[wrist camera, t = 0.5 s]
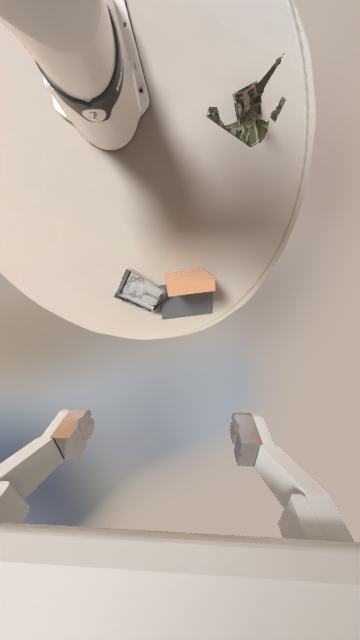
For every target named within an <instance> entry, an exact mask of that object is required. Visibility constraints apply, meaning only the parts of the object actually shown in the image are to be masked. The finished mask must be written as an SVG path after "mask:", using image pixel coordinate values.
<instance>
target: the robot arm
mask: <svg viewBox="0 0 360 640" xmlns="http://www.w3.org/2000/svg"><path fill="white" fill-rule="evenodd" d="M0 22H1V23H2V24H3V25H4V26H5V27H6V28H8V29H9V30H10V31H11V32H12V33H13V34H14V35H15V36H16V38H17V39H18V40H19V41H20V42H21V44H22V45H23V46H24V47H25V48H26V50H27V51H28V52H29V53H30V54H31V56H32V57H33V58H34V60H35V62H36V64H37V66H38V67H39V69H40V71H41V72H42V74H43V76H44V78H45V79H44V83H45V85H46V87H47V89H48V90H49V92H50V93H51V95H52V98H53V104H54V107H55V108H56V110H57V111H58V113H59V114H60V115H61V116H63V117H64V118H65V119H67V120H68V121H70V122H71V123H72V124H73V125H74V126H75V127H76V128H77V129H78V131H79V132H80V133H81V135H82V136H83V137H84V138H85V139H86V140H87V141H89V142H90V143H91V144H93V145H94V146H96V147H98V148H101V149H104V150H116V149H120V148H122V147H123V146H125V145H126V144H127V143H128V142H129V141H130V140H131V138H132V137H133V135H134V133H135V131H136V128H137V125H138V122H139V119H140V117H141V116H142V115H143V113H144V112H145V111H146V110H147V108H148V106H149V103H150V100H149V95H148V91H147V87H146V83H145V80H144V76H143V72H142V68H141V64H140V60H139V56H138V52H137V48H136V44H135V40H134V36H133V33H132V29H131V25H130V21H129V17H128V13H127V9H126V5H125V1H124V0H0ZM140 89H142V90H143V92H142V93H140V92H139V90H140ZM90 416H91V412H90V410H73V409H63V410H61V411H60V412H59V413H58V415H57V416H56V417H55V419H54V420H53V421H52V423H51V424H50V425H49V427H48V428H47V429H46V431H45V432H44V434H43V435H42V436H41V437H40V438H37V439H35V440H34V441H32V442H31V443H30V444H28V445H27V446H25V447H24V448H22V449H21V450H19V451H18V452H16V453H15V454H14V455H12V456H11V457H9V458H8V459H6V460H5V461H4V462H2V463H1V464H0V640H360V543H359V542H354V540H353V538H352V536H351V535H350V533H349V531H348V529H347V527H346V526H345V524H344V522H343V520H342V518H341V517H340V515H339V513H338V511H337V509H336V507H335V506H334V504H333V502H332V500H331V498H330V497H329V495H328V494H327V493H326V492H325V491H324V490H323V489H322V488H321V487H320V486H319V485H318V484H317V483H316V482H315V481H314V480H313V479H312V478H311V477H310V476H309V475H308V474H307V473H305V471H304V470H303V469H302V468H300V467H299V466H298V465H297V464H296V463H295V462H294V461H293V460H292V459H291V458H290V457H289V456H288V455H287V454H286V453H285V452H284V451H283V450H282V449H281V448H280V447H279V446H277V445H274V443H273V440H272V438H271V435H270V433H269V431H268V428H267V426H266V424H265V421H264V419H263V417H262V415H261V414H250V413H233V414H232V422H231V426H230V433H231V439H232V442H233V443H234V445H235V449H234V453H235V457H236V462H237V465H239V466H240V465H241V466H254V468H255V469H256V471H257V472H258V473H259V475H260V476H261V478H262V479H263V480H264V482H265V483H266V484H267V486H268V487H269V489H270V490H271V491H272V493H273V494H274V495H275V497H276V498H277V499H278V501H279V502H280V504H281V505H282V506H283V508H284V511H283V513H282V516H281V518H280V520H279V522H278V525H279V528H280V531H281V535H282V538H271V537H270V538H269V537H253V536H234V535H217V534H199V533H181V532H164V531H163V532H162V531H145V530H127V529H110V528H92V527H74V526H56V525H38V524H22V523H23V521H24V519H25V518H26V516H27V514H28V512H29V510H30V508H29V505H28V504H27V503H26V502H25V501H24V500H25V499H26V498H27V497H28V495H30V494H31V493H32V492H33V491H34V490H35V489H36V488H37V487H38V486H39V485H40V483H42V481H44V480H45V479H46V478H47V477H48V476H49V475H50V474H51V473H52V472H53V471H54V470H55V469H56V468H57V467H58V466H59V465H60V464H61V463H62V462H63V461H64V459H80V457H81V455H82V453H83V451H84V449H85V447H86V441H87V440H88V439H89V438H90V437H91V435H92V433H93V430H94V420H93V419H92V418H91V417H90Z"/></svg>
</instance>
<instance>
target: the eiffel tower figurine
mask: <svg viewBox="0 0 360 640" xmlns="http://www.w3.org/2000/svg"><path fill="white" fill-rule="evenodd" d="M283 55H284V54H283ZM283 55H282V56H283ZM281 58H282V57H280V58H278V59H277V60H276V62H275V64H274V65H273V66H272V68H271V69H270V70H269V71H268V73H267V74H266V75H265V76H264V77H263V79H262V80H261V81H260V82H259V83H257V81H256V82H254V83H252V84H250V85H249V86H247V87H245V88H243V89H241V90H239V91H238V92H236V93H234V94H233V98H234V104H235V110H236V116H237V121H236V122H235V123H233V124H231V125H227V126H224V124H223V123H222V121H221V120H220V117H219V113H218V109H217V107H209V110H208V113H207V117H208V118H210V119H211V120H213V121H214V122H215V123H217V124H218V125H220V126H221V127H222V128H224V129H225V130H227V131H228V132H230V133H231V134H233V135H234V136H236V137H237V138H238V139H240V140H241V141H243V142H244V143H245V144H247V145H248V146H249V147H252V146H254V145H256V144H257V143H260V142H261V141H262V140H263V139H264V137H265V134H266V132H267V126H268V124H269V121H268V122H267V123H266V122H265V121H263V120H259V119H256V118H257V117H259V116H261V115H262V113H261V106H260V103H261V102H262V101H261V96H262V93H263V92H264V87H265V86H266V84H267V82H268V80H269V79H270V77H271V75H272V74H273V72H274V71H275V69H276V67H277V66H278V65H279V64H280V62H281ZM285 100H286V99H285V98H283V97H282V98H281V100H280V102H279V105H278V106H277V107H276V110H275V111H273V112H272V113H271V118H272V120H273V121H274V122H275V121H276V119H277V117H278V115H279V113H280V110H281V108H282V106H283V104H284V102H285Z"/></svg>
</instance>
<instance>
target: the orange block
mask: <svg viewBox="0 0 360 640" xmlns="http://www.w3.org/2000/svg"><path fill="white" fill-rule="evenodd" d="M165 274H166V284H167V292H168V297H170V296H178V295H186V294H194V293H202V292H210V291H215V278H213V277H212V276H211V275H210V274H209V273H208V272H207V271H206V270H205V269H199V270H190V271H182V272H173V273H165Z"/></svg>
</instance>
